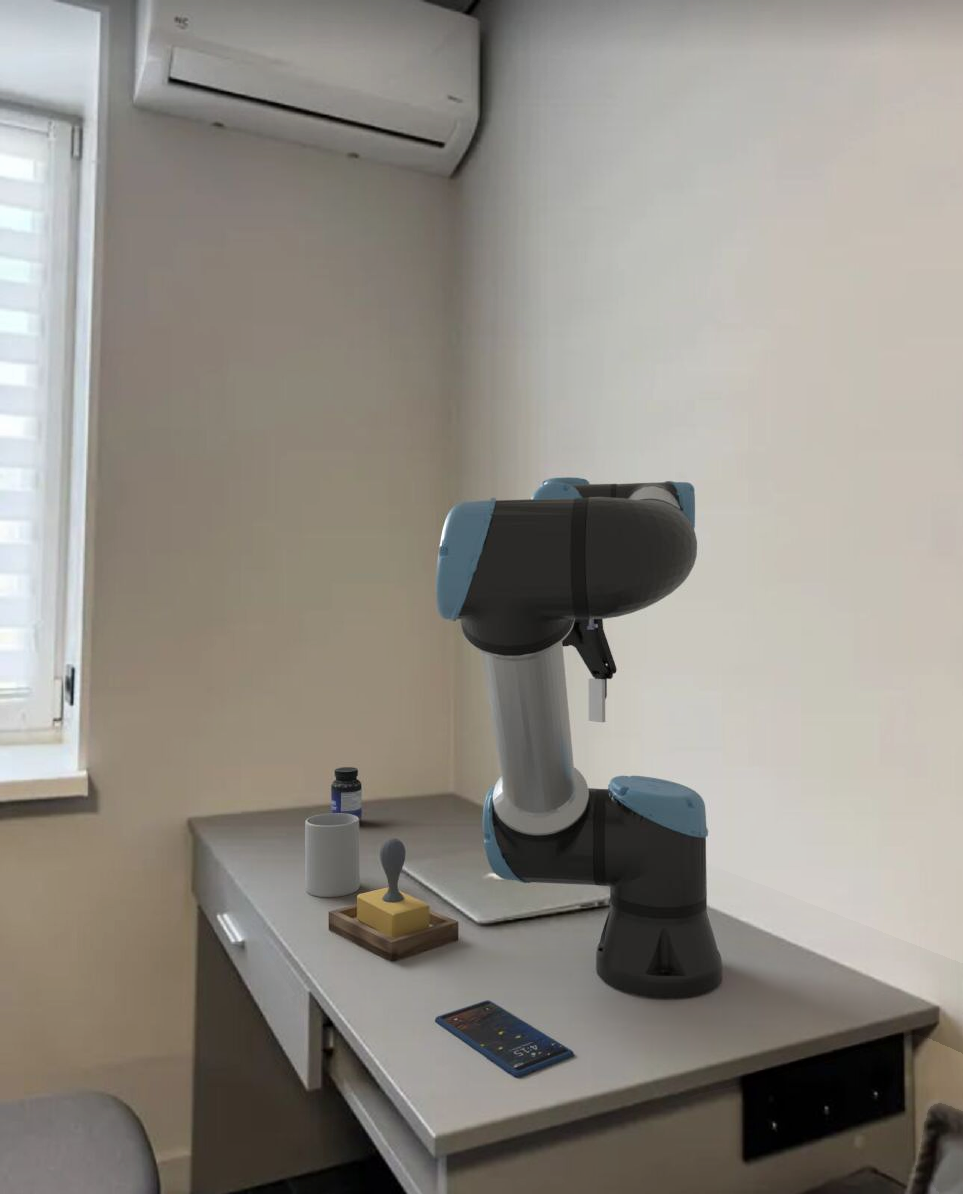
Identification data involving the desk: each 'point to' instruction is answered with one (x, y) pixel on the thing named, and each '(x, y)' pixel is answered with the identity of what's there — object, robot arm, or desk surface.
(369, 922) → the rubber stamp
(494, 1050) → the smartphone
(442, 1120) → the desk surface
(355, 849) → the mug
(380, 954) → the tray
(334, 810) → the pill bottle
